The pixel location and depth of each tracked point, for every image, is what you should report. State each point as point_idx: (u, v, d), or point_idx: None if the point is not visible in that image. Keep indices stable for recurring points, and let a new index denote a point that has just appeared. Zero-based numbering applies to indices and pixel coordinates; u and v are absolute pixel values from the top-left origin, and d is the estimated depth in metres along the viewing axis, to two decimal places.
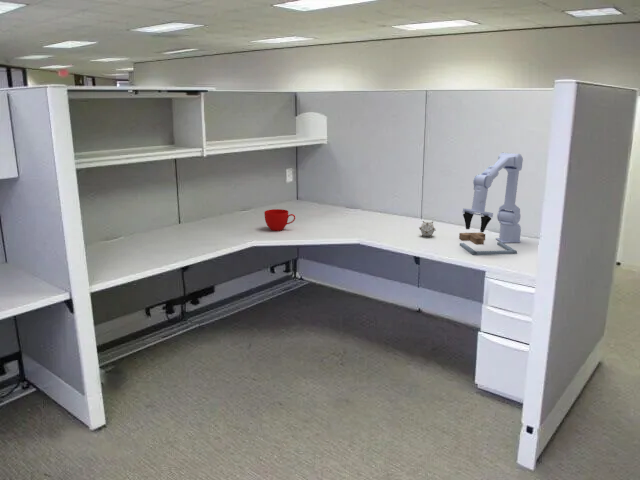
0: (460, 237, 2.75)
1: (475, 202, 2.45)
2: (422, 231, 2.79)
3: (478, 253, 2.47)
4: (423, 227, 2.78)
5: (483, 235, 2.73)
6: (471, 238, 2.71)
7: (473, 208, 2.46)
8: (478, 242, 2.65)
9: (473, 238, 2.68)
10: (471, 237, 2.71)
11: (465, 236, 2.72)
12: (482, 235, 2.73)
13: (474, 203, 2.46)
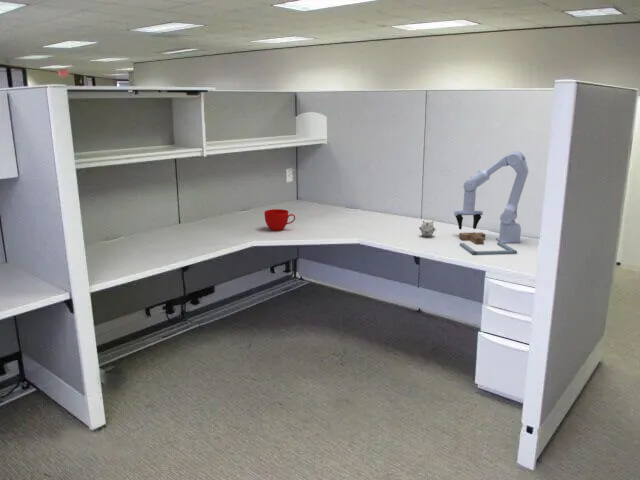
0: (460, 237, 2.75)
1: None
2: (422, 231, 2.79)
3: (478, 253, 2.47)
4: (423, 227, 2.78)
5: (483, 235, 2.73)
6: (471, 238, 2.71)
7: None
8: (478, 242, 2.65)
9: (473, 238, 2.68)
10: (471, 237, 2.71)
11: (465, 236, 2.72)
12: (482, 235, 2.73)
13: None
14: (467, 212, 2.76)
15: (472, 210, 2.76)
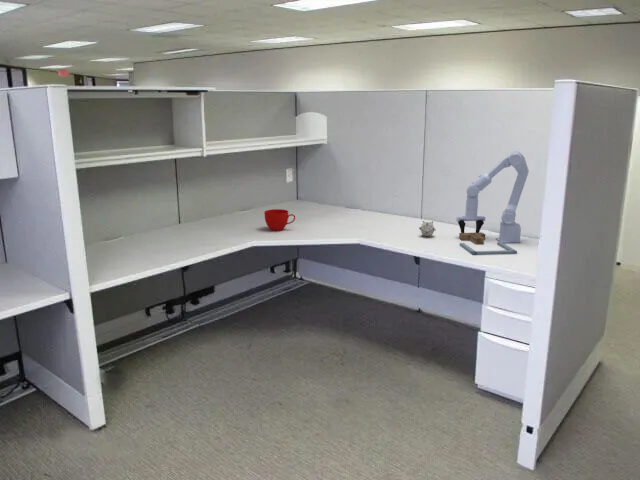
0: (460, 237, 2.75)
1: None
2: (422, 231, 2.79)
3: (478, 253, 2.47)
4: (423, 227, 2.78)
5: (483, 235, 2.73)
6: (471, 238, 2.71)
7: None
8: (478, 242, 2.65)
9: (473, 238, 2.68)
10: (471, 237, 2.71)
11: (465, 236, 2.72)
12: (482, 235, 2.73)
13: None
14: (469, 218, 2.73)
15: (475, 216, 2.73)
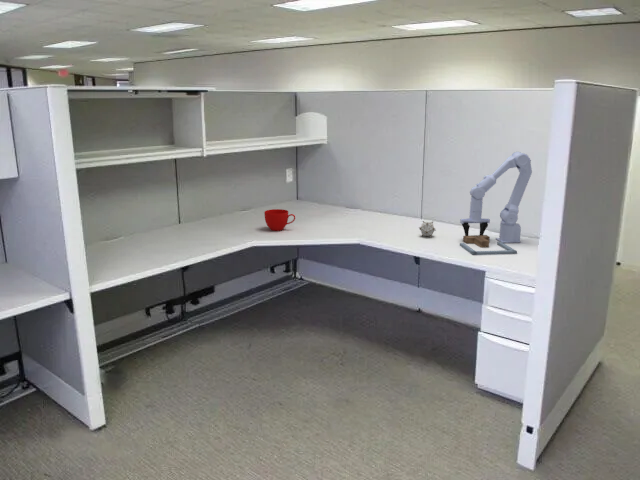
0: (464, 240, 2.69)
1: None
2: (422, 231, 2.79)
3: (478, 253, 2.47)
4: (423, 227, 2.78)
5: (487, 238, 2.68)
6: (476, 241, 2.65)
7: None
8: (483, 245, 2.60)
9: (478, 241, 2.62)
10: (476, 240, 2.65)
11: (469, 239, 2.67)
12: (486, 238, 2.68)
13: None
14: (474, 220, 2.68)
15: (479, 218, 2.68)
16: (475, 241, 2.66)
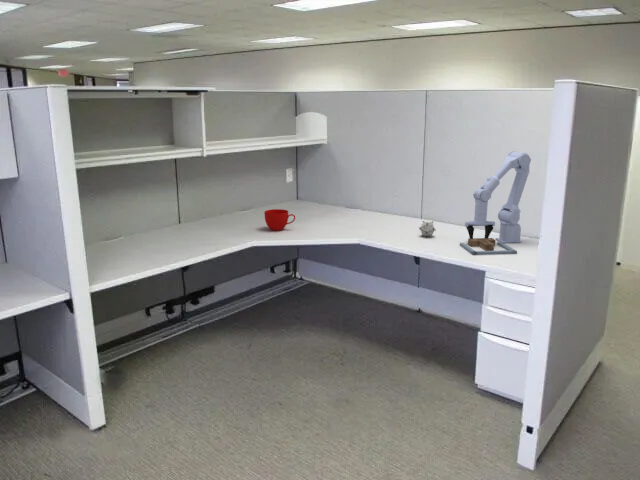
0: (469, 243, 2.63)
1: None
2: (422, 231, 2.79)
3: (478, 253, 2.47)
4: (423, 227, 2.78)
5: (493, 241, 2.62)
6: (480, 244, 2.59)
7: None
8: (488, 248, 2.54)
9: (483, 244, 2.57)
10: (480, 243, 2.59)
11: (474, 242, 2.61)
12: (492, 241, 2.62)
13: None
14: (478, 223, 2.62)
15: (484, 221, 2.62)
16: (480, 244, 2.60)
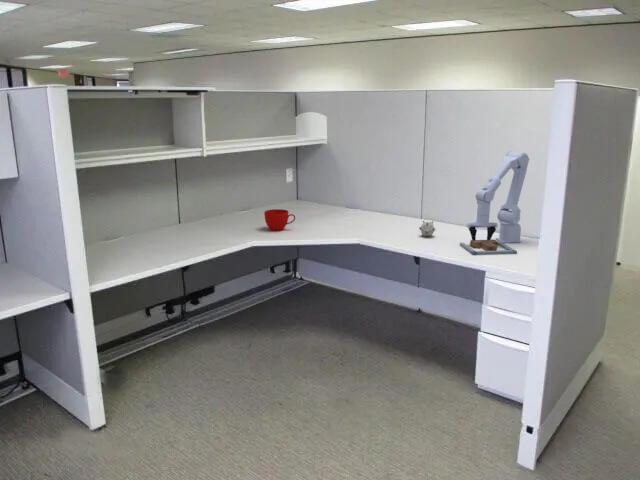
0: (471, 244, 2.60)
1: None
2: (422, 231, 2.79)
3: (478, 253, 2.47)
4: (423, 227, 2.78)
5: (495, 242, 2.59)
6: (483, 246, 2.56)
7: None
8: (491, 250, 2.51)
9: (485, 246, 2.54)
10: (483, 245, 2.56)
11: (476, 244, 2.58)
12: (494, 242, 2.59)
13: None
14: (481, 224, 2.59)
15: (486, 222, 2.59)
16: (482, 246, 2.57)
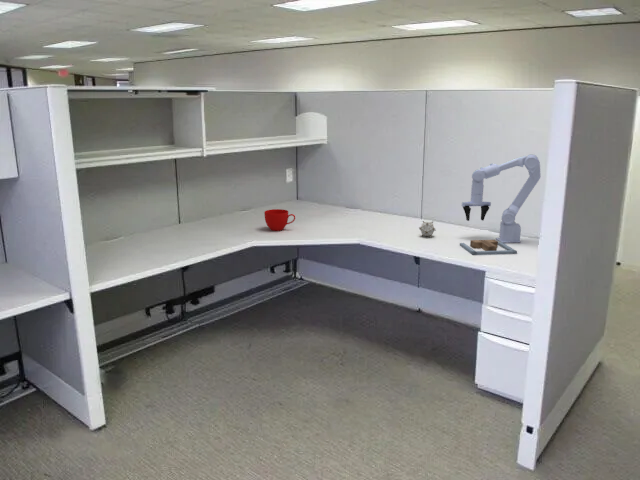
0: (471, 245, 2.60)
1: None
2: (422, 231, 2.79)
3: (478, 253, 2.47)
4: (423, 227, 2.78)
5: (495, 243, 2.59)
6: (483, 246, 2.56)
7: None
8: (491, 250, 2.51)
9: (485, 246, 2.54)
10: (483, 245, 2.56)
11: (476, 244, 2.58)
12: (494, 243, 2.59)
13: None
14: (475, 203, 2.70)
15: (480, 201, 2.70)
16: (482, 246, 2.57)
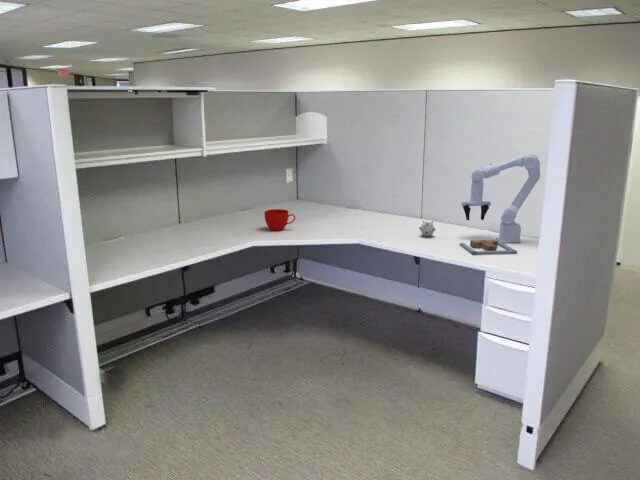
0: (471, 245, 2.60)
1: None
2: (422, 231, 2.79)
3: (478, 253, 2.47)
4: (423, 227, 2.78)
5: (495, 242, 2.59)
6: (483, 246, 2.56)
7: None
8: (491, 250, 2.51)
9: (485, 246, 2.54)
10: (483, 245, 2.56)
11: (476, 244, 2.58)
12: (494, 242, 2.59)
13: None
14: (475, 202, 2.71)
15: (480, 200, 2.71)
16: (482, 246, 2.57)
